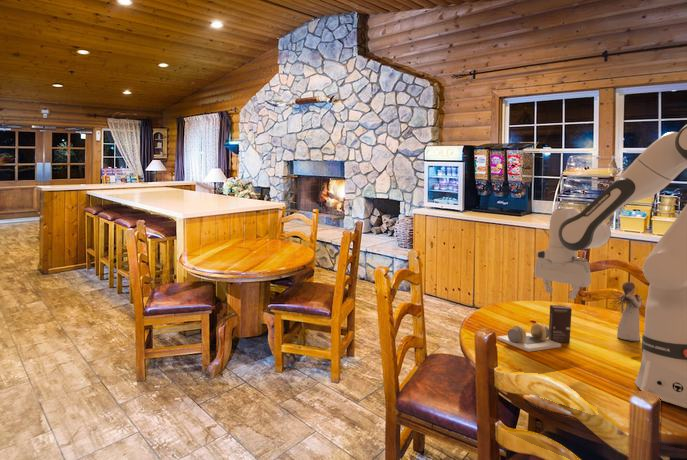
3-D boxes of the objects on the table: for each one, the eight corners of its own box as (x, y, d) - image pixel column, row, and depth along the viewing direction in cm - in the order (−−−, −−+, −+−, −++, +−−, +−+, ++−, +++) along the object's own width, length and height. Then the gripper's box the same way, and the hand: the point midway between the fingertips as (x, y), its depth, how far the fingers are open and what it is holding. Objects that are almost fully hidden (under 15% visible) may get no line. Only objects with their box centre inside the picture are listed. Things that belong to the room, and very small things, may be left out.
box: (551, 342, 147) (552, 307, 147) (548, 338, 152) (549, 304, 151) (570, 343, 146) (572, 308, 146) (566, 339, 151) (568, 305, 150)
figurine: (644, 340, 151) (646, 283, 150) (630, 345, 145) (632, 285, 144) (614, 333, 159) (616, 279, 158) (599, 337, 154) (602, 281, 153)
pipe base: (560, 346, 143) (561, 328, 142) (528, 351, 137) (529, 332, 137) (527, 335, 155) (528, 318, 155) (497, 339, 150) (497, 321, 150)
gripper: (596, 258, 139) (594, 301, 140) (545, 251, 158) (543, 289, 159) (582, 259, 137) (580, 302, 138) (532, 252, 156) (530, 290, 157)
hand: (560, 295), depth 149 cm, fingers open, 8 cm apart
